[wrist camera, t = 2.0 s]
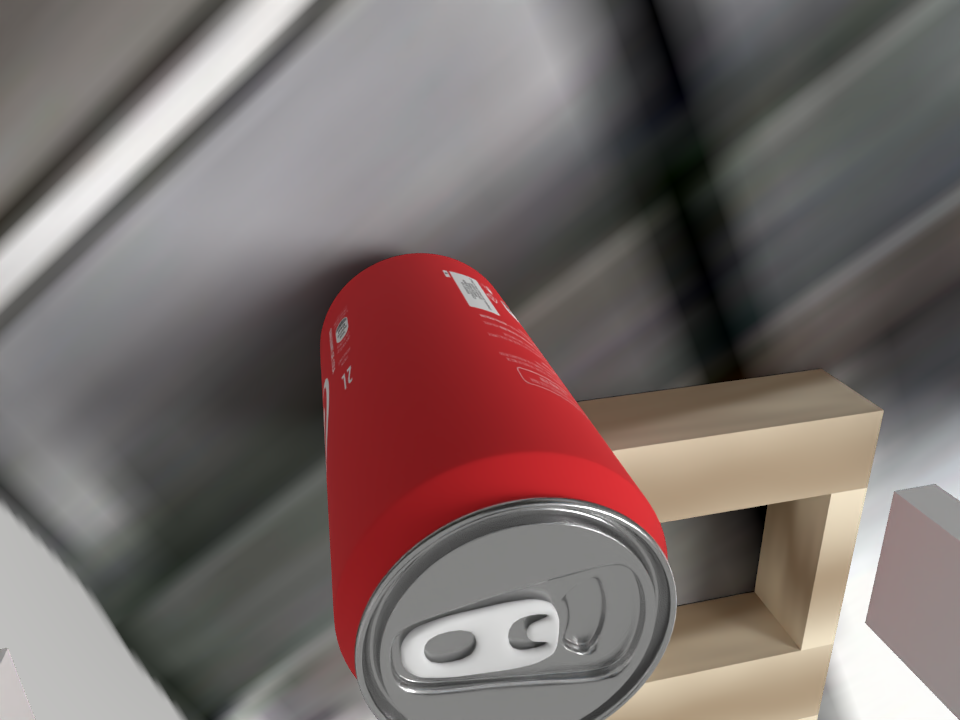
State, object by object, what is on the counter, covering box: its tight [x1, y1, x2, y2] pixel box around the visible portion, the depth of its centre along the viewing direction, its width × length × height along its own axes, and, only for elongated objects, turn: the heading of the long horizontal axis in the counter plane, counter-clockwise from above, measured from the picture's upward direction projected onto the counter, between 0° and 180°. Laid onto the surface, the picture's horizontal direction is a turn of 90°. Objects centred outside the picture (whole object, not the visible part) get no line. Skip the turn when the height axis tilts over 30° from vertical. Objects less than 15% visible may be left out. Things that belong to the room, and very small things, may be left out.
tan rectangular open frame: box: [577, 369, 884, 720], centre depth 27 cm, size 22×9×3 cm, turn 2°
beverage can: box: [320, 253, 677, 720], centre depth 16 cm, size 5×5×12 cm
